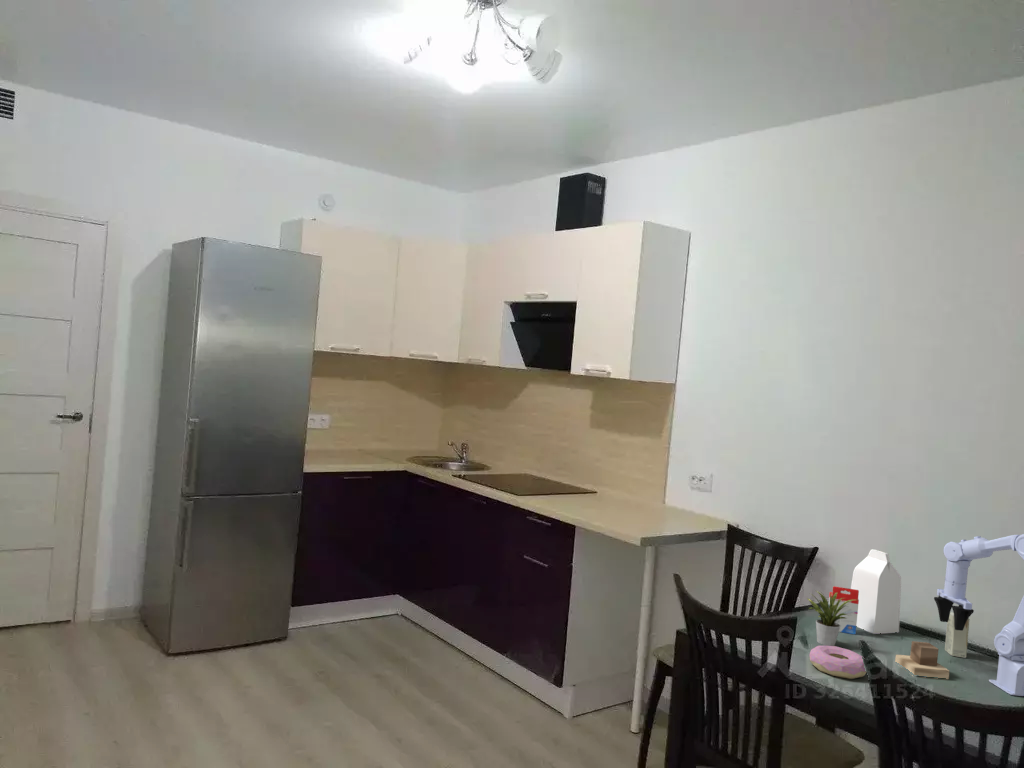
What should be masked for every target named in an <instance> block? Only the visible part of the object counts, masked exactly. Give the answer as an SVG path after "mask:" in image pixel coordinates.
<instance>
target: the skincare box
mask: <svg viewBox="0 0 1024 768" xmlns="http://www.w3.org/2000/svg"><path fill="white" fill-rule="evenodd" d="M970 621H971V620H970V617H969V618H968V620H967V622H966V624H965V626H964V629H963V631H961V630H955V627H954V612H953V611H950V616H949V620H948V622H946V631H945V633H946V634H945V644H944V650H945V652H947V654H949V655H950V656H953V657H958V658H963V659H966V658H967V654H968V653H967V650H968V640H969V632H970V631H969V629H970Z"/></svg>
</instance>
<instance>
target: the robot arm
mask: <svg viewBox="0 0 1024 768" xmlns="http://www.w3.org/2000/svg"><path fill="white" fill-rule="evenodd" d="M1007 550H1012V551H1013V552H1016V553H1017V554H1018V555H1019V556H1020V557H1021V559H1022V560H1023V561H1024V533H1022V534H1011V535H1007V536H1002V537H999V538H995V539H991V540H990V539H988V538H986V537H982V536H981V535H977V536H973V539H961V540H960V541H959V542H957V541H956V542H955V541H949V542H947V543H945V545H944V547H943V554H944V557H945V558H946V569H945V577H944V586H943V588H937V589H936V590H937V591H936V596H934V598H933V599H934V601H935V604H936V606H937V611H938V617H939V618H938V619H939V622H941V623H942V622H943V623H947V622H948V620H949V616H950V612H952V613H954V627H955V630H961V631H963V629H964V626H965V624H966V622H967V620H968V618H969V619H970V617H971V615H973V614H974V613H975V612H974V611H975V610H974V609H973V603H972V602H970V601H969V600H968V598H966V594H967V593H966V592H967V583H968V572H969V568H970V567H971V562H972V561H974V560H978V559H984V558H990V557H991V556H992V555H993V554H994V552H999V551H1001V552H1002V551H1007ZM954 604H956V605H954ZM993 645H994V647H995V649H996V651H997V654H998V655H999V656H998V663H997V664H998V665H997V672H996V673H997V674H996V679H988V681H989V683H991V684H993V685H995V686H996V687H998V688H999V689H1001V690H1002V691H1003V692H1005V693H1007V694H1008V695H1011V696H1019V697H1024V595H1023V596H1022V598H1021V600H1020V603H1019V605H1018V608H1017V609H1016V612H1015V614H1014V617H1013V619H1012V621H1010V622H1009V623H1007V624H1005V626H1003V627H1002V629H1001V631H1000V632H999V633H996V635H995V637H994V639H993Z"/></svg>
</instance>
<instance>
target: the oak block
mask: <svg viewBox="0 0 1024 768" xmlns="http://www.w3.org/2000/svg"><path fill="white" fill-rule="evenodd" d="M894 660H895V661H894V663H895V662H897V663H899V664H900V665H902V666H903V667H905V668H906V669H908V670H909V671H910V672H912V673H913V674H914V675H919V676H927V677H938V678H946V679H945V680H949V679H950V669H947V667H945V666H943V665H941V664H940V663H939V662H937V666H929V665H919V664H918V663H916V662H915V661H914V660H912V659H911V658H910V655H906V654H905V655H904V654H895V658H894ZM938 678H937V679H938Z"/></svg>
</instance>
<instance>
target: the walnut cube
mask: <svg viewBox="0 0 1024 768" xmlns="http://www.w3.org/2000/svg"><path fill="white" fill-rule="evenodd" d="M910 645H911V647H910V655H909V656H910V658H911V659H912V660H914V661H915V662H916V663H918V664H919V665H929V666H937V663H938V659H939V648H938V647H936V646H935V645H933V644H932V643H930V642H927V641H926V642H924V641H922V642H921V641H913V640H912V641H911V644H910Z"/></svg>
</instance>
